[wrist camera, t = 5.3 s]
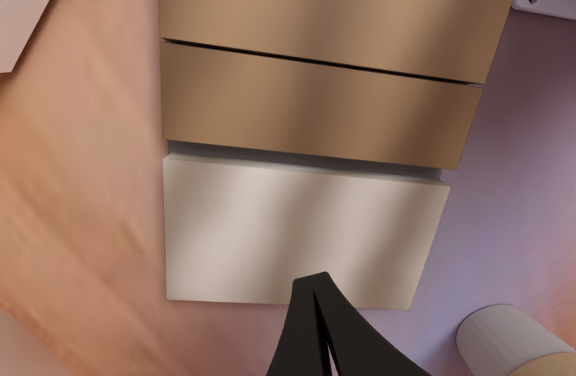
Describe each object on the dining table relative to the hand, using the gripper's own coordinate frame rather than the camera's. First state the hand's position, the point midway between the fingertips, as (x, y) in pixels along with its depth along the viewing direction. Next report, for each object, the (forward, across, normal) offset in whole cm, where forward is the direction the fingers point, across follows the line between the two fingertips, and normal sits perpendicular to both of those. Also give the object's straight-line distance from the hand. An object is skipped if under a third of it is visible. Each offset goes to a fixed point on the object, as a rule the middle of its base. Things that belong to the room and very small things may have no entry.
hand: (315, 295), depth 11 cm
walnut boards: (+8, -4, -8) cm, 11 cm away
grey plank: (+7, 0, +1) cm, 8 cm away
